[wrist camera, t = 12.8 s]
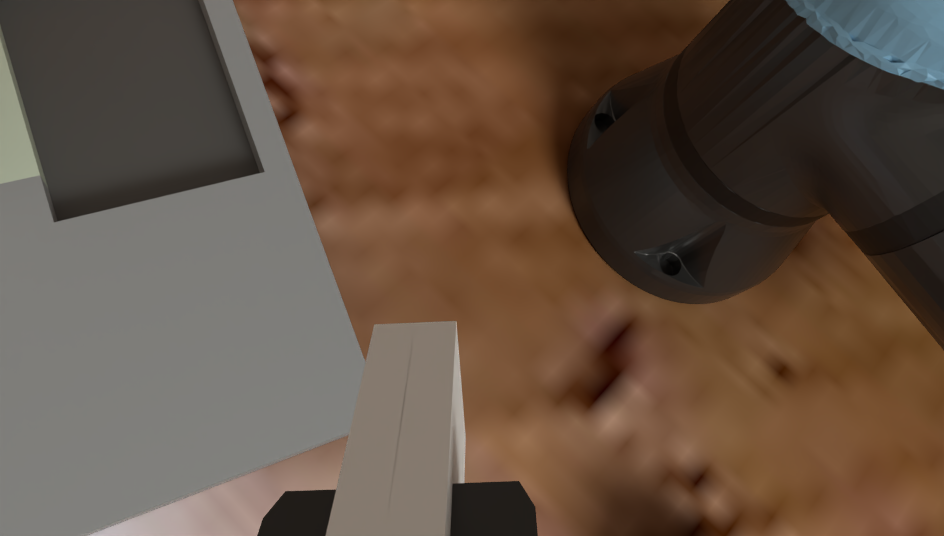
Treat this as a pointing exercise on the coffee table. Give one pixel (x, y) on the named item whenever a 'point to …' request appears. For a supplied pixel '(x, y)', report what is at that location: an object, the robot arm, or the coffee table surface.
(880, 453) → the coffee table surface
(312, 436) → the box
